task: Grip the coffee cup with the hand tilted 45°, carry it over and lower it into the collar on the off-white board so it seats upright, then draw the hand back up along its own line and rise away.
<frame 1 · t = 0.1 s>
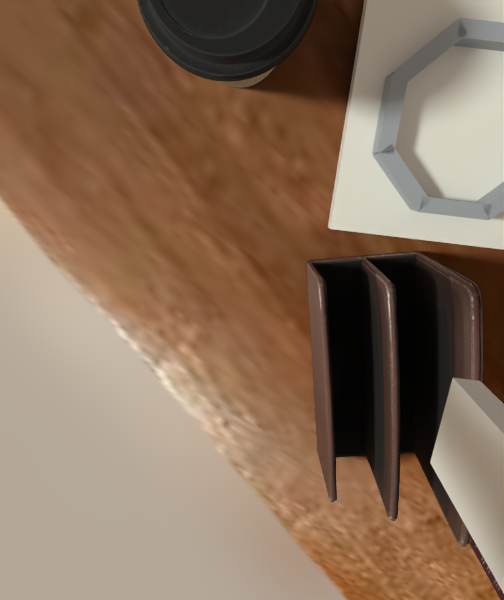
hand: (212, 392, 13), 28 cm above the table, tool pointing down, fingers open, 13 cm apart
dock board: (455, 128, 36), on the table
coffee cup: (240, 48, 35), on the table
letter holder: (363, 357, 43), on the table
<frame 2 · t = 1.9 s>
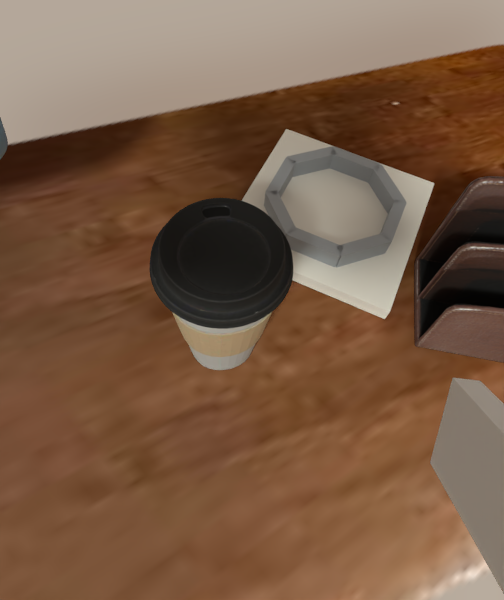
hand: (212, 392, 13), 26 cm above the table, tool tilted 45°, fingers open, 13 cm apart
dock board: (329, 218, 49), on the table
coffee cup: (221, 342, 41), on the table
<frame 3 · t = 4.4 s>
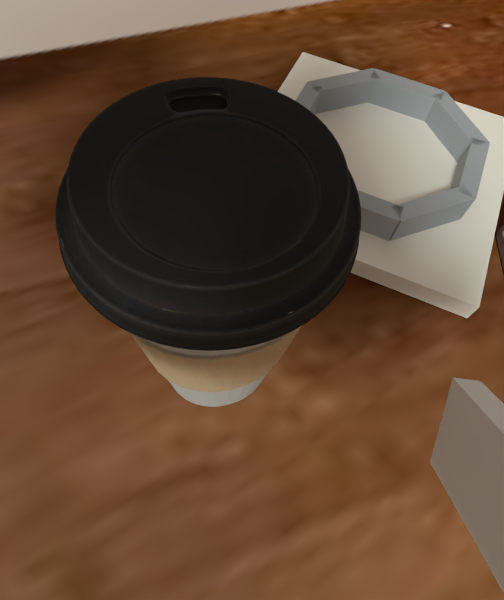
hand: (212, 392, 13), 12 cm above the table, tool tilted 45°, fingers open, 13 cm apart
dock board: (370, 173, 33), on the table
coffee cup: (215, 360, 26), on the table
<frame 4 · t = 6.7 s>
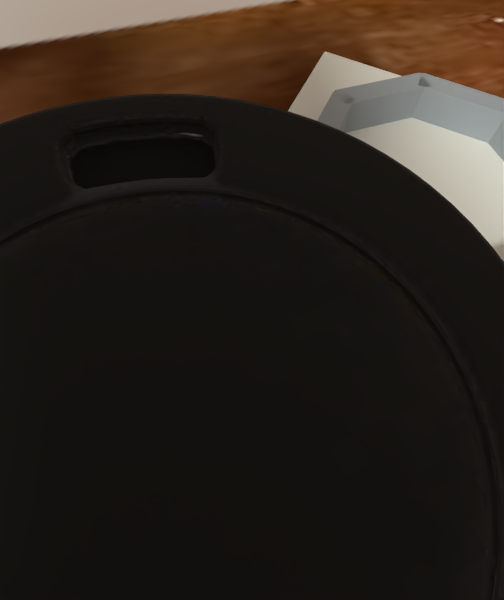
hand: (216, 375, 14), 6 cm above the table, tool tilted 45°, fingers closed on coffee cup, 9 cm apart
dock board: (417, 212, 25), on the table
coffee cup: (206, 503, 17), on the table, touching gripper
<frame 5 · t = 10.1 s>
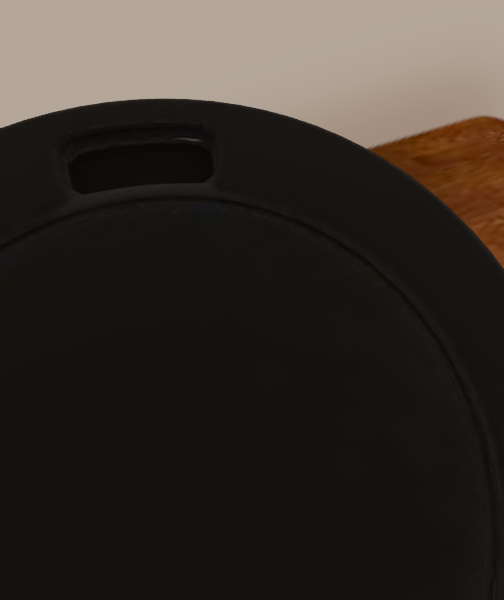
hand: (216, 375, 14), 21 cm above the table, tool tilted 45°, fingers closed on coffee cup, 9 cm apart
coffee cup: (205, 506, 17), point 15 cm above the table, touching gripper
when the fingers open (8 cm above the table, at t = 13.5 s): coffee cup stays where it is, resting on dock board.
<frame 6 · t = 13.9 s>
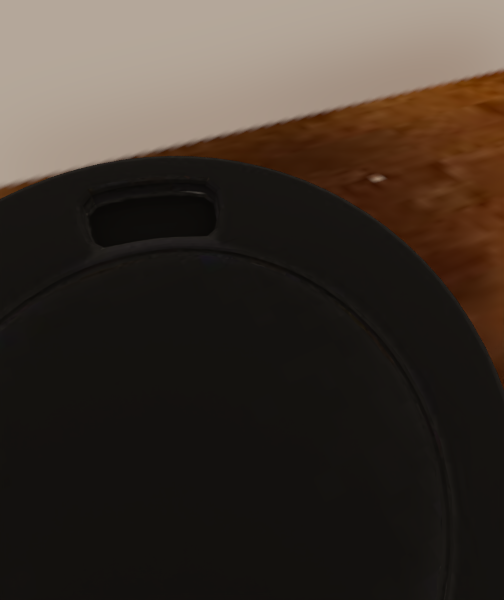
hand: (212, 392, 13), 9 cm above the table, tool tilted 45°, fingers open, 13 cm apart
coffee cup: (205, 508, 18), point 1 cm above the table, touching dock board
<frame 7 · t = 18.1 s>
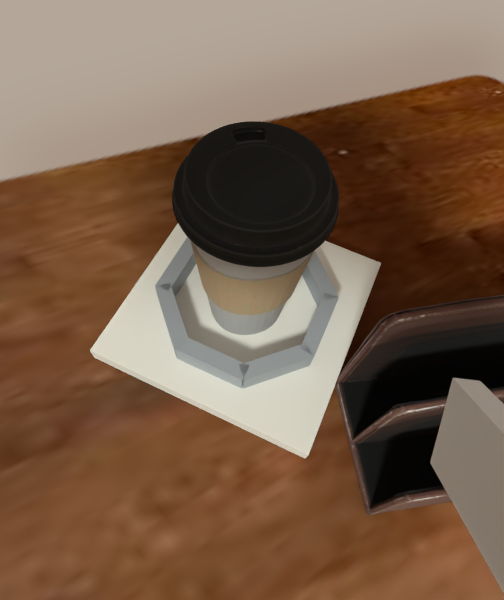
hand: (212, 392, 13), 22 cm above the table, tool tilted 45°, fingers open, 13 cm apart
dock board: (245, 311, 38), on the table
coffee cup: (245, 305, 37), point 1 cm above the table, touching dock board
letter holder: (468, 427, 35), on the table
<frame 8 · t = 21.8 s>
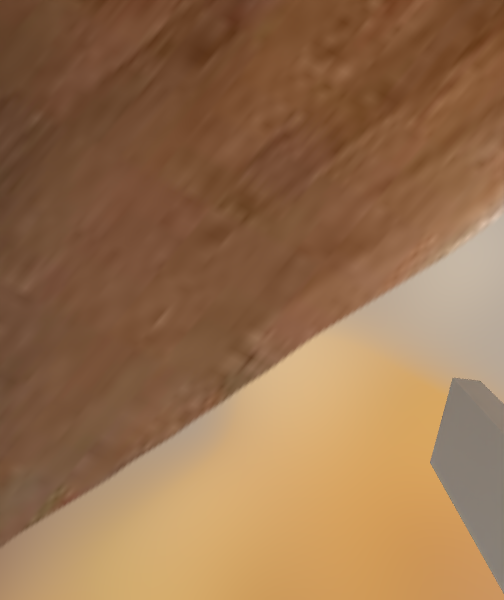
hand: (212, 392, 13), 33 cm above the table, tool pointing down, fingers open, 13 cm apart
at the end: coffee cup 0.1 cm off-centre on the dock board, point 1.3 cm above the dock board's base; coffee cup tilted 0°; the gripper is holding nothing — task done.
